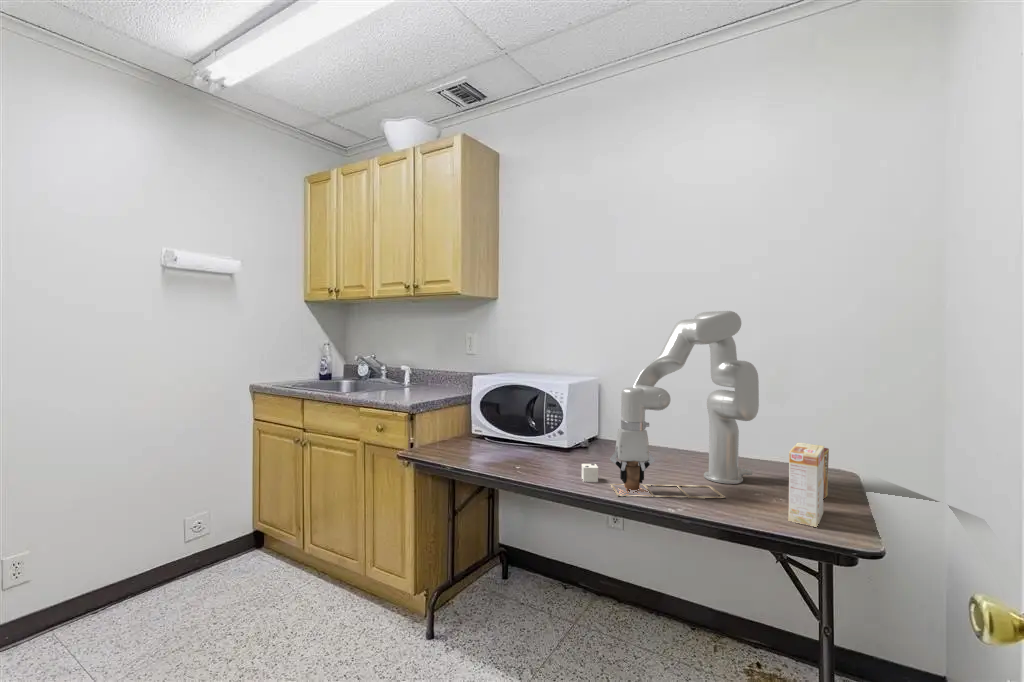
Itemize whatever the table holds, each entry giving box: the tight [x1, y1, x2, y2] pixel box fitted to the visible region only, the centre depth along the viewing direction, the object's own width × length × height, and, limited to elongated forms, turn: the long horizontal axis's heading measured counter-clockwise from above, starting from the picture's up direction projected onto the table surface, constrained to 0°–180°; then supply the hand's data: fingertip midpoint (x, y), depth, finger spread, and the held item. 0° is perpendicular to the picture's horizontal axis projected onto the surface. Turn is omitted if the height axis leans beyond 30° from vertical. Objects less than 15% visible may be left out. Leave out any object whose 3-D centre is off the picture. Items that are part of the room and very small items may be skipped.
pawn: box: [623, 461, 641, 490], centre depth 152 cm, size 5×5×10 cm
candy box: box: [823, 447, 830, 500], centre depth 148 cm, size 9×4×15 cm, turn 137°
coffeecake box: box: [787, 442, 825, 528], centre depth 131 cm, size 15×7×20 cm, turn 141°
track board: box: [609, 483, 727, 499], centre depth 152 cm, size 34×12×1 cm, turn 89°
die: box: [581, 463, 599, 483], centre depth 163 cm, size 5×5×5 cm
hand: (632, 481), depth 152 cm, fingers closed on pawn, 4 cm apart
